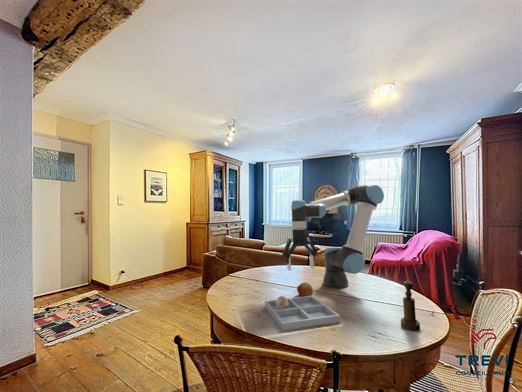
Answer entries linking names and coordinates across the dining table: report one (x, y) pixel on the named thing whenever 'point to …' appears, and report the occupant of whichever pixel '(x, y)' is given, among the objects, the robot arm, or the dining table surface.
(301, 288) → the apple
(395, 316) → the dining table surface
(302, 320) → the tray
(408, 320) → the dark tall piece
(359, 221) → the robot arm
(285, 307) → the wooden ball
